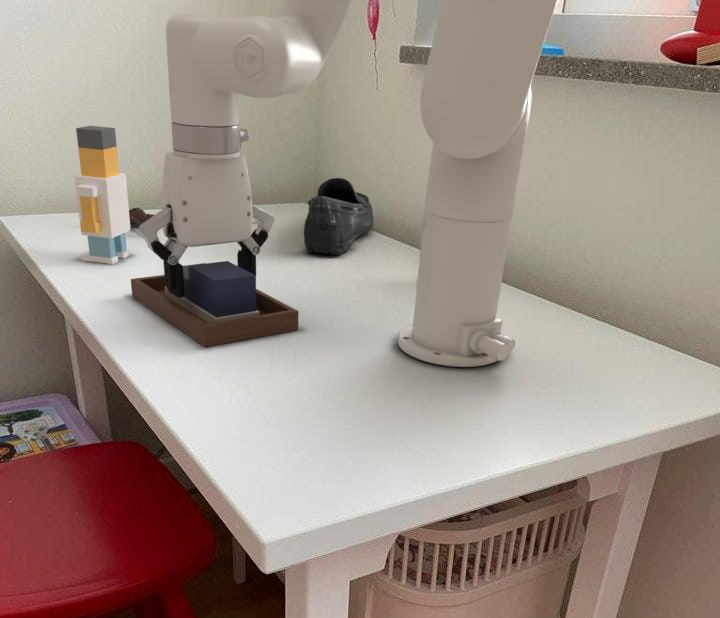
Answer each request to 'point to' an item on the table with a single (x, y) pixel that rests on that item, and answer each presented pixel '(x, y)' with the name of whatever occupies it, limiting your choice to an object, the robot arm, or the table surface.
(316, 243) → the loafer
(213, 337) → the tray
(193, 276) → the blue stair step block
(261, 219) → the robot arm
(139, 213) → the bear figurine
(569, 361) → the table surface
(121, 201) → the character figure
